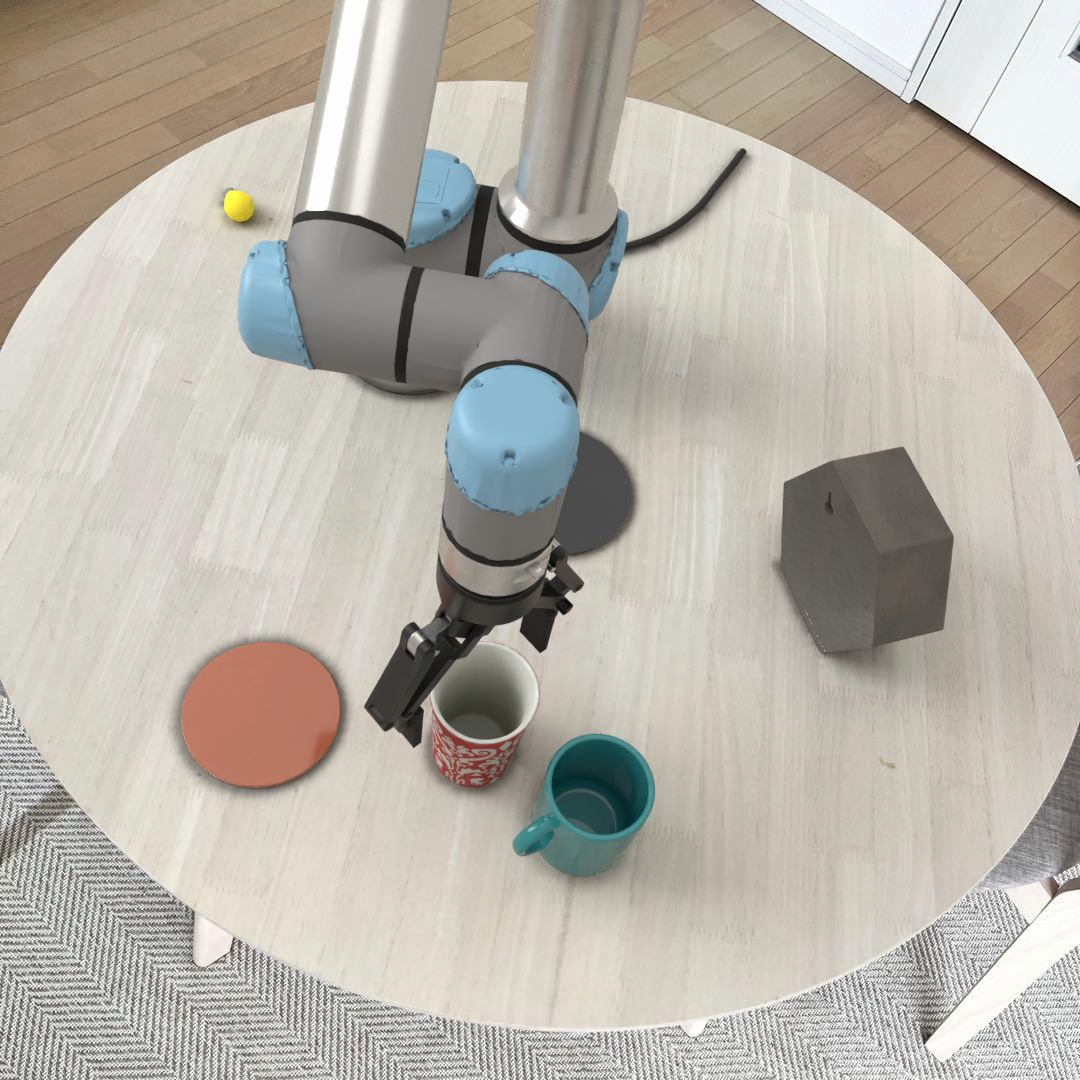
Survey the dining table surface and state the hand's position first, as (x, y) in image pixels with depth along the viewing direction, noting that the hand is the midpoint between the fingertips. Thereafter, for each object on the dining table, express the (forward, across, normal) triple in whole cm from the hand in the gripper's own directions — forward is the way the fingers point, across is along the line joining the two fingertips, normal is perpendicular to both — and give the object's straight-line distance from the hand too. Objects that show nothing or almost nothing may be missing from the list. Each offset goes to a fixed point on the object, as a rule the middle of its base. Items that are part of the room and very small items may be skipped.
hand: (471, 685), depth 94 cm
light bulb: (+11, +21, +68) cm, 72 cm away
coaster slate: (+11, +25, +15) cm, 32 cm away
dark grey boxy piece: (+11, +39, -12) cm, 43 cm away
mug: (+12, 0, 0) cm, 12 cm away
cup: (+12, +1, -13) cm, 17 cm away
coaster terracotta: (+12, -13, +13) cm, 22 cm away
